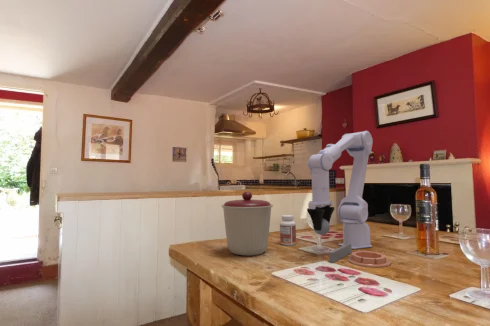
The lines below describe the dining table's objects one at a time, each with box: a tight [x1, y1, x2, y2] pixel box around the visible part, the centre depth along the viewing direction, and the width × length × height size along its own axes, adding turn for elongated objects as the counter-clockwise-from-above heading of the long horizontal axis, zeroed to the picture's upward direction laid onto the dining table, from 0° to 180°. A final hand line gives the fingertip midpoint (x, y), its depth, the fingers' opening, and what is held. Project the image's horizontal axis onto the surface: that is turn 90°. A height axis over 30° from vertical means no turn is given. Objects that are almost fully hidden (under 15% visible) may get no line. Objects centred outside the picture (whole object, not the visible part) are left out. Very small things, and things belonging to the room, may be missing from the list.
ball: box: [312, 218, 331, 236], centre depth 99 cm, size 6×6×6 cm
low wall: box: [328, 243, 353, 264], centre depth 94 cm, size 16×1×3 cm, turn 141°
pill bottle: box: [279, 214, 297, 246], centre depth 115 cm, size 6×6×11 cm
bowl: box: [347, 250, 391, 268], centre depth 89 cm, size 12×12×2 cm
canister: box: [221, 191, 274, 257], centre depth 102 cm, size 18×18×21 cm
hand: (321, 229), depth 99 cm, fingers closed on ball, 5 cm apart
